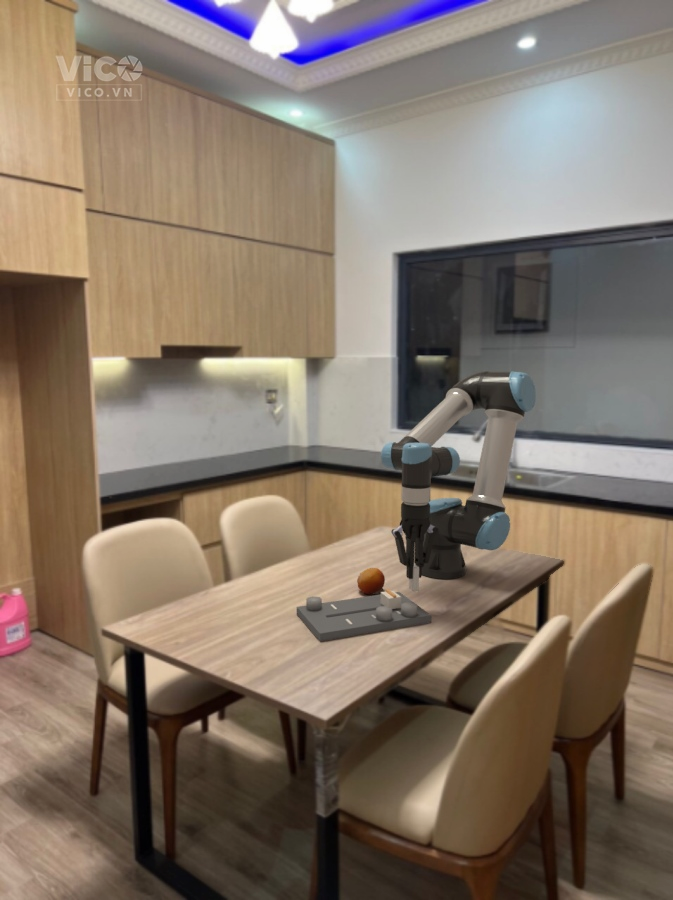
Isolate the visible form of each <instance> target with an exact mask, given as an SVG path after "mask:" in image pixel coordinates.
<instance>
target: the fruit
mask: <svg viewBox="0 0 673 900" xmlns="http://www.w3.org/2000/svg"><path fill="white" fill-rule="evenodd" d="M385 580H386V579H385V574H384V573H383V571H381V569H379V568H378V567H370V568H367V569H365V570H364V571H363V570H362V572H360V573H359V575H358V577H357V580H356V582H357V588H358V590H360V591H361V593H363V594H366V595H368V596H372V595H380V594H381V592H382V591H384V589H383V588H384V586H385Z"/></svg>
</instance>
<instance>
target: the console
mask: <svg viewBox="0 0 673 900" xmlns="http://www.w3.org/2000/svg"><path fill="white" fill-rule="evenodd" d="M394 592H395V593H397V594H398V595H399V596H401V608H397V609H392V608H390V607H387V606H384V605H382V604H381V593H380V594H373V595H368V596H362V597H360V596H359V597H354V598H348V599H340V600H334V601H328V602H327V601H326V602H323V599H322V598H321V597H320V596H309V597H306V601H305V602H306V605H300V606H296V615H297V616H298V617H299V618H300V621H302V622H303V623H304V625H305V626H306V627H307V628H308V629H309V631H311V633H312V634H313V635H314V637H315V638H316V639H317V640H318V642H325V641H330V640H331V641H332V640H337V639H342V638H343V639H344V638H347V637H348V638H350V637H355V636H361V635H367V634H371V633H373V634H374V633H379V632H383V631H385V632H386V631H389V630H396V629H401V628H407V627H413V626H419V625H424V624H432V614H430V613H429V612H428V611H426V610H425V609H424V608H423V607H420V606H419V605H418V604H417V603H415V602H414V601H413V600H411V599H410V598H409V597H407V596H405V595H404V594H403V593H402V592H400V591H394Z"/></svg>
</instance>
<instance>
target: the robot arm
mask: <svg viewBox="0 0 673 900" xmlns="http://www.w3.org/2000/svg"><path fill="white" fill-rule="evenodd" d="M536 395H537V391H536V387H535V383H534V381H533V378H532V377H531V376H530V375H529V374H528V373H526V372H521V371H515V370H514V371H512V370H511V371H479V372H475V373H473V374H470V375H468V376H466V377H465V378H463V379H461V380H460V381H459V382H456V384H454V385H453V386H452V387H451V388H450V389H449V390H447V392H446V394H445V397H444V398H443V400H442V401H441V402H439V404H437V405H436V406H435V407H433V409H432V410H431V411H430V412H429V413H428V414H427V415H426V416H425V417H424V418H422V419H421V421H419V422H418V423H417V424H416V425H415V426H414V427H413V428H412V429H411V430H410V431H409V432H408V433H406V435H404V436H403V437H402V438H401V439H400V441H398V442H388V443H385V444H384V446H383V447H382V449H381V452H380V460H381V463H382V465H383V466H384V467H386V468H388V469H392V470H395V471H401V491H400V492H401V498H400V499H401V501H402V503H401V504H400V505H401V506H400V518H401V519H400V522H399V526H398V527H397V528H393V529H392V530H391V534H392V536H393V537H394V541H395V545H396V550H397V554H398V559H399V563H400V564H401V565H403V566H406V577H407V579H408V589H409V590H411V591H412V592H419V590H420V589H419V588H420V587H419V585H420V578H422V576H424V577H427V578H430V579H438V580H440V579H443V580H449V579H457V578H460V577H463V576H465V575H466V573H467V564H466V562H465V558H464V555H463V552H462V549H461V548H462V547H461V545H463V546H466V547H467V546H468V547H471V548H477V549H478V550H487V551H495V550H498V549H499V548H500V547H502V545H503V544H504V543H505V542H506V540H507V539H508V536H509V533H510V530H511V522H510V521H511V519H510V516H509V515H508V513H506V506H505V503H503V495H504V491H505V486H506V481H507V476H508V471H509V466H510V462H511V461H510V460H511V457H512V451H513V447H514V441H515V437H516V432H517V427H518V424H519V423H520V422H521V421H523V420H524V418H525V413H529V412H530V411H532V410H533V408H534V407H535V403H536V399H537V396H536ZM481 409H482V410H484V414H486V416H487V419H488V420H487V423H486V427H485V428H486V429H485V433H484V439H483V443H482V448H481V454H480V458H479V462H478V468H477V472H476V477H475V483H474V486H473V492H472V494H471V496H469V497H467V498H466V500H465V504H464V505H463V502H462V501H463V500H462V499H461V498H459V497H443V498H435V499H431V488H432V487H431V481H432V480H431V479H432V478H435V477H436V478H437V477H441V476H449V475H450V474H453V473H455V472H456V471H457V470H458V469H459V466H460V464H461V457H460V455H459V453H458V451H457V450H456V449H455V448H453V447H451V446H441V447H435V446H434V445H435V444H436V443H437V442H438V441H439V440H440V439H441V438H442V437H443V436H444V435H445V434H446V433H447V432H448V431H449V430H450V429H451V428H452V427H453V426H454V425H455V424H456V423H457V422H458V421H459V420H460V419H461V418H462V417H463V416H468V415H469V414H471V413H472V412H473V411H476V410H481ZM403 535H405V536H404V537H405V541H406V542H405V541H404V538H403Z"/></svg>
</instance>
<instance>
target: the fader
mask: <svg viewBox="0 0 673 900" xmlns="http://www.w3.org/2000/svg"><path fill="white" fill-rule="evenodd" d="M395 592H396V591H394V590H390V589H388V588H385V591H380V594H381V604H382V605H384V606H387V607H390V608H392V609H397V608H401V596H399V595H398V594H397V593H395Z"/></svg>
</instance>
